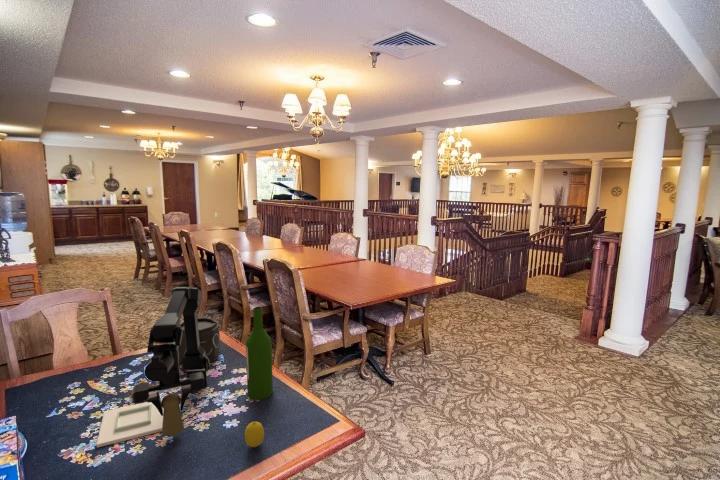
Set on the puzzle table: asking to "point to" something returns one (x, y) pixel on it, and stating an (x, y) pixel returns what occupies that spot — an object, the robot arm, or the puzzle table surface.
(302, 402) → the puzzle table surface
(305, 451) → the puzzle table surface
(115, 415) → the cream flat square slab
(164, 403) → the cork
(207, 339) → the dark grey round container
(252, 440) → the lemon
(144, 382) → the pastry
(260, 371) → the wine bottle
